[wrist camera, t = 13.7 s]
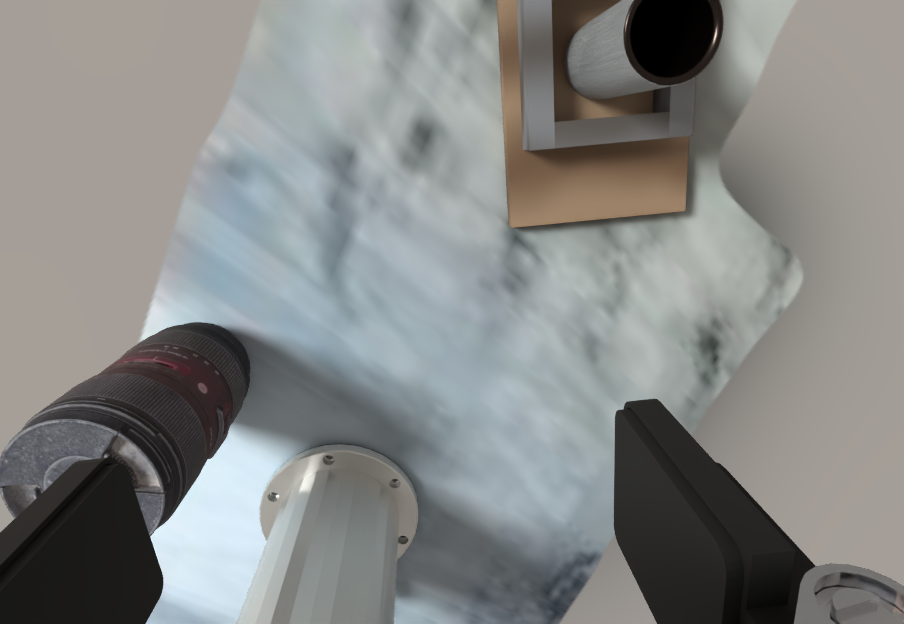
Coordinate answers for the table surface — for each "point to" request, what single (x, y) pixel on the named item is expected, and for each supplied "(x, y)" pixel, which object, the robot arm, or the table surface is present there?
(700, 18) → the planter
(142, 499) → the camera lens
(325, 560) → the robot arm
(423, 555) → the table surface
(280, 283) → the table surface
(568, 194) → the socket board
